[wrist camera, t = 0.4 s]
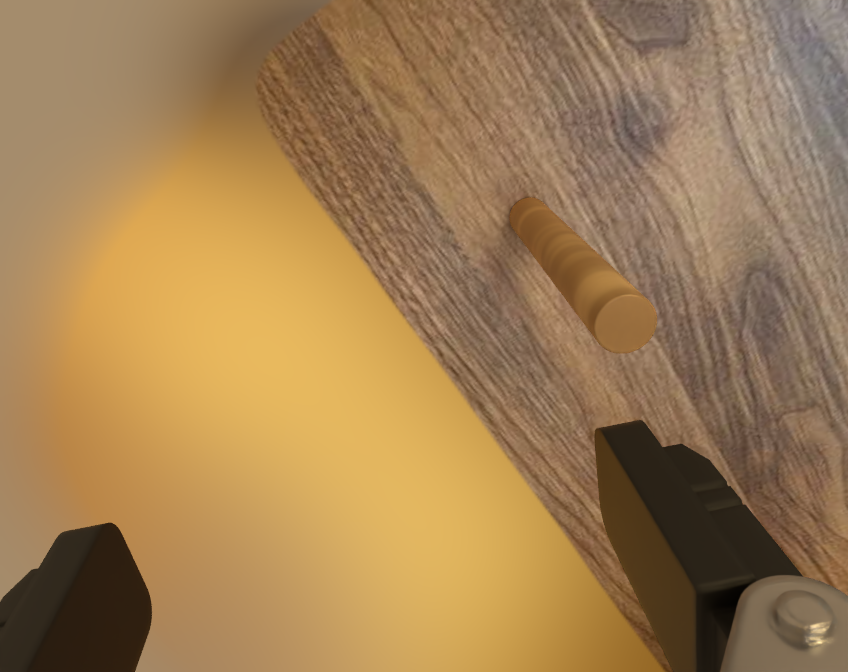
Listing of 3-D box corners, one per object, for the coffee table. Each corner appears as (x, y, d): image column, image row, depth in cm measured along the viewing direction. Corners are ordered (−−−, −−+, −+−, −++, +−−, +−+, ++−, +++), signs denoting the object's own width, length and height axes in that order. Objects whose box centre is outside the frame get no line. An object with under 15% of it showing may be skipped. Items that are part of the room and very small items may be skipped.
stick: (508, 199, 35) (593, 298, 21) (547, 195, 35) (658, 290, 21) (510, 237, 35) (594, 358, 21) (548, 233, 35) (657, 350, 22)
